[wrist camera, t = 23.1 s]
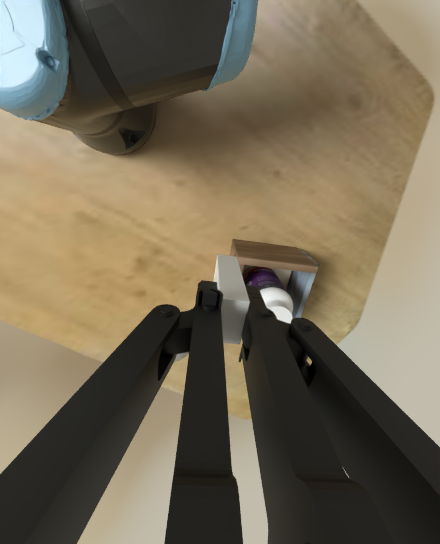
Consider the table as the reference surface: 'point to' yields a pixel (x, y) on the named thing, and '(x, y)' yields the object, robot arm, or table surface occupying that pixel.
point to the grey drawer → (294, 285)
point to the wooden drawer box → (271, 256)
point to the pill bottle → (271, 291)
